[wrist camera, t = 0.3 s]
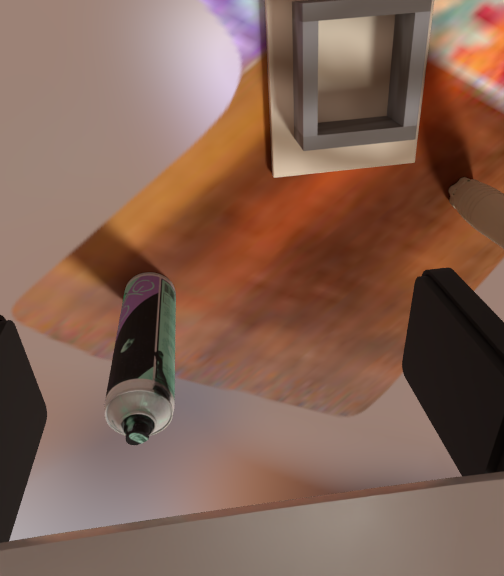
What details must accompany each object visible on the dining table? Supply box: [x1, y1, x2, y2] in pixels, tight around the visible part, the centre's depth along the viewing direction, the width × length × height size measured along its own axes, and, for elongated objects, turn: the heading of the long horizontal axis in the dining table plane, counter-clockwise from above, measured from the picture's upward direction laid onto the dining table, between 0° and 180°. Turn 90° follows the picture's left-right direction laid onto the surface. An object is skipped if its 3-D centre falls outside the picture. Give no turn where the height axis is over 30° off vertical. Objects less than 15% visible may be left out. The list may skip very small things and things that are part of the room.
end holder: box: [265, 0, 434, 178], centre depth 41 cm, size 18×14×5 cm
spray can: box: [105, 272, 176, 445], centre depth 44 cm, size 6×6×20 cm
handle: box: [448, 177, 504, 249], centre depth 44 cm, size 5×6×15 cm
